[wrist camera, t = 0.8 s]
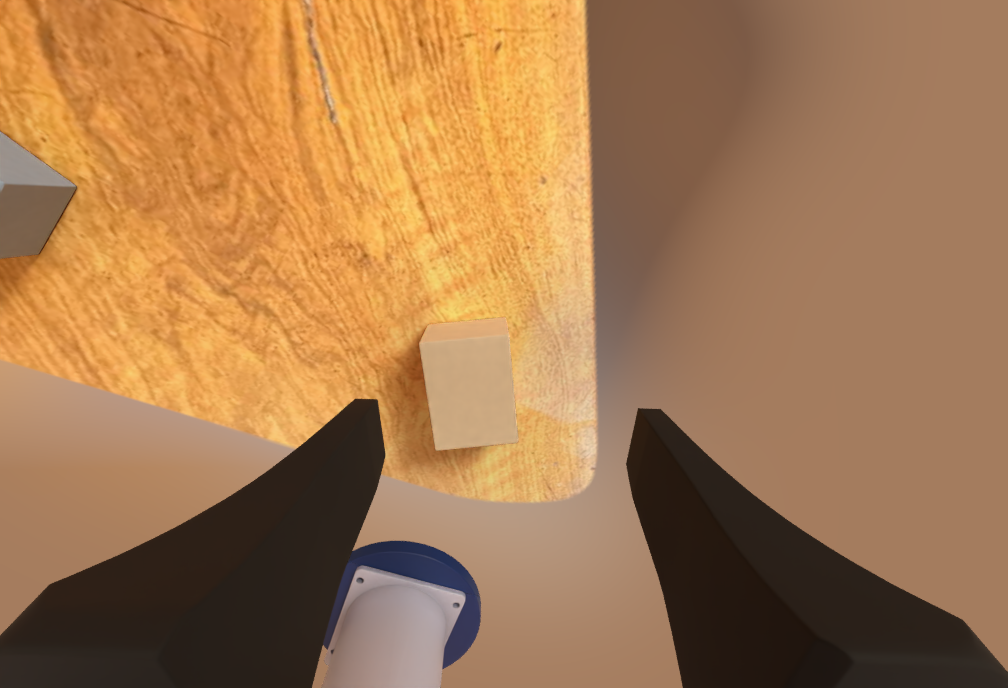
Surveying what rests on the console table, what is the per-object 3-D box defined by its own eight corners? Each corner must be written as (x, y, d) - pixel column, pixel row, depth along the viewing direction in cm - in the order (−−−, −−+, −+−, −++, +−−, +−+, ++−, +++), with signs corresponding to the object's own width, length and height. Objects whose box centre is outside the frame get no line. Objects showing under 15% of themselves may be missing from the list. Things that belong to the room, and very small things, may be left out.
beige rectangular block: (514, 413, 26) (518, 443, 23) (441, 420, 26) (435, 451, 23) (506, 316, 24) (509, 334, 21) (427, 324, 24) (418, 342, 21)
